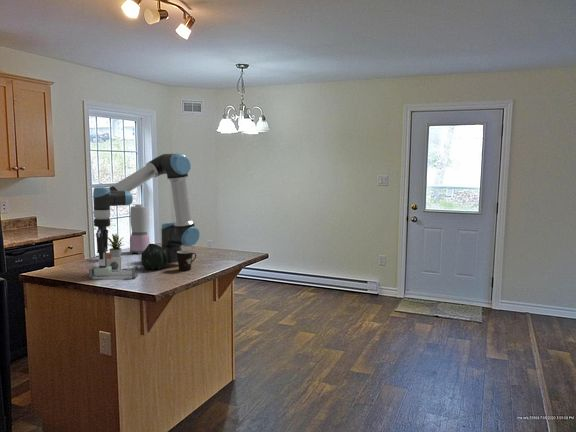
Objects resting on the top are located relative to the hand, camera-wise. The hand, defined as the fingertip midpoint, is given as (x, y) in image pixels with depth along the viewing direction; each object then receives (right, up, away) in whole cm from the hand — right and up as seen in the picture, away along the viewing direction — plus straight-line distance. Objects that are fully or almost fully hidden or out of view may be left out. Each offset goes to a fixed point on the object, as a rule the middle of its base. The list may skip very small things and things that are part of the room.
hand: (102, 264), depth 222 cm
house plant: (-14, -2, +49) cm, 51 cm away
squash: (+19, -5, +24) cm, 31 cm away
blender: (-5, 0, +72) cm, 73 cm away
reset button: (-2, +1, +10) cm, 10 cm away
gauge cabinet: (0, -6, +11) cm, 12 cm away
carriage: (0, -5, 0) cm, 5 cm away
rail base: (+5, -7, +1) cm, 8 cm away
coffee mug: (+37, -5, +23) cm, 44 cm away
